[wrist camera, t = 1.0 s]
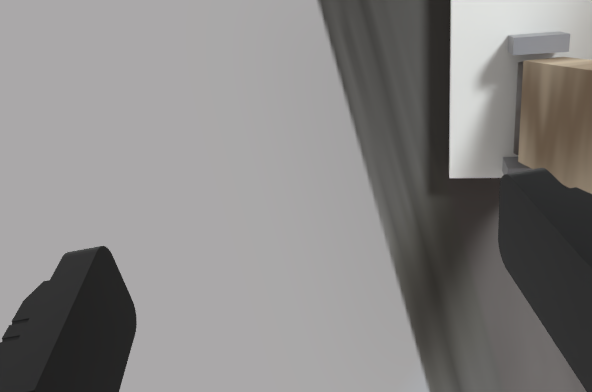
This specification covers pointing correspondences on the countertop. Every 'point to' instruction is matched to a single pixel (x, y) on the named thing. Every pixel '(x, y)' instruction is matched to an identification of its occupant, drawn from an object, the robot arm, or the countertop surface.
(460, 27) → the panel
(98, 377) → the robot arm
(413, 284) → the countertop surface
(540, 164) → the brown long rectangular block
